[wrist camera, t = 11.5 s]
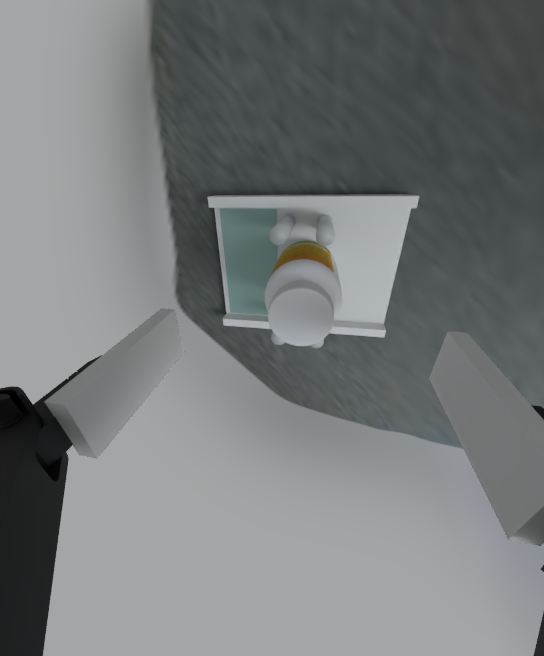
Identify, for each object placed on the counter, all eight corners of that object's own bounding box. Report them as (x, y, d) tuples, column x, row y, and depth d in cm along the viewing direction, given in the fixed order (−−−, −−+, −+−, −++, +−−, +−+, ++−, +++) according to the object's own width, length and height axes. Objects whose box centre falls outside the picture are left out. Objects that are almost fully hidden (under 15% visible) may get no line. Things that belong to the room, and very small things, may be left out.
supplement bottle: (265, 258, 24) (238, 303, 15) (318, 226, 21) (319, 257, 13) (294, 305, 25) (284, 367, 17) (345, 279, 23) (362, 335, 15)
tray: (230, 315, 29) (205, 352, 23) (217, 195, 23) (179, 201, 17) (379, 326, 26) (396, 369, 20) (410, 194, 20) (447, 201, 14)
